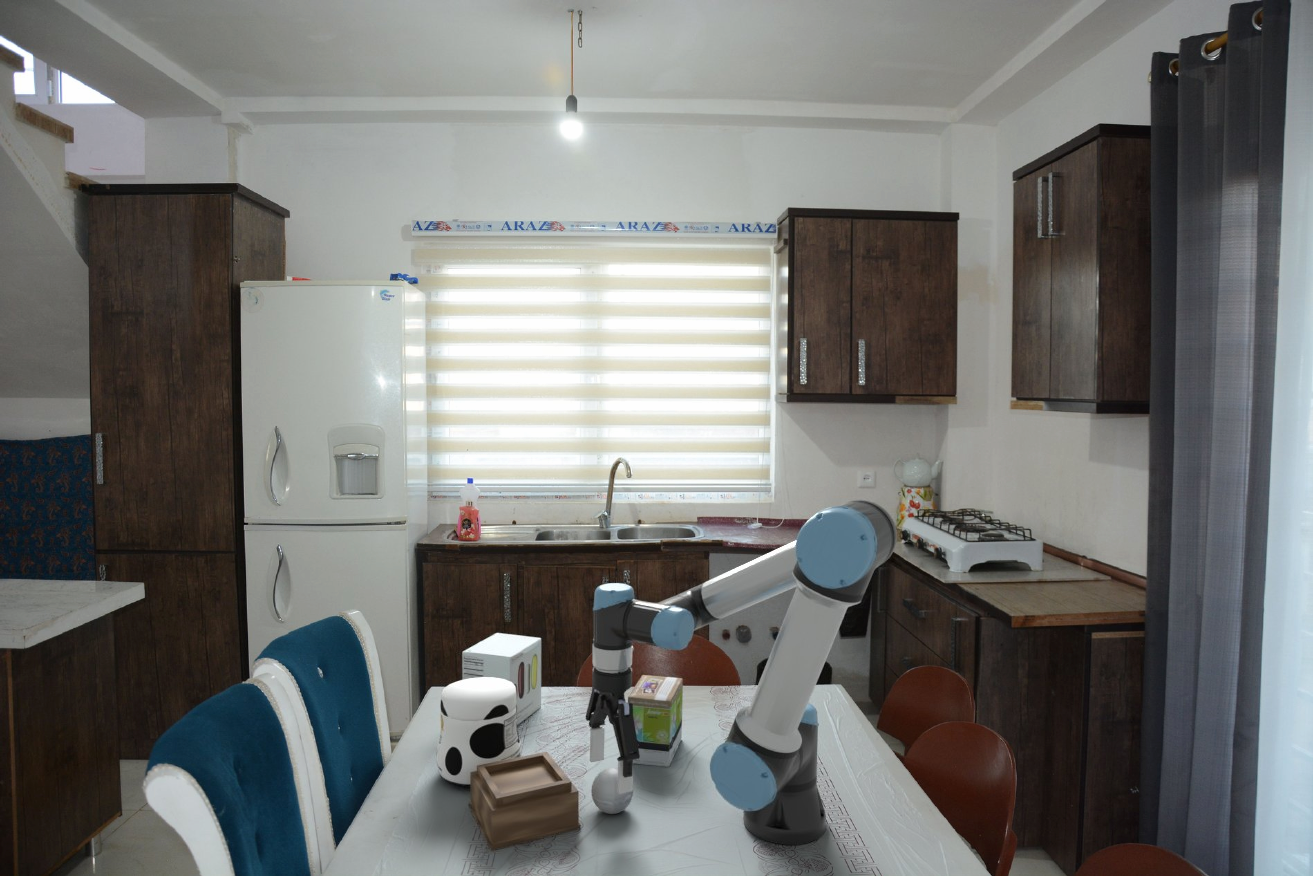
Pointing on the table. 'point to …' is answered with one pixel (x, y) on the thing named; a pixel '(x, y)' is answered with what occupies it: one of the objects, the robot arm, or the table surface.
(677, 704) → the tea box
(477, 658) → the supplement box
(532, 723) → the table surface
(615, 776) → the bath bomb
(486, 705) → the milk container
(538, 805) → the brown open square box
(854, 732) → the table surface
